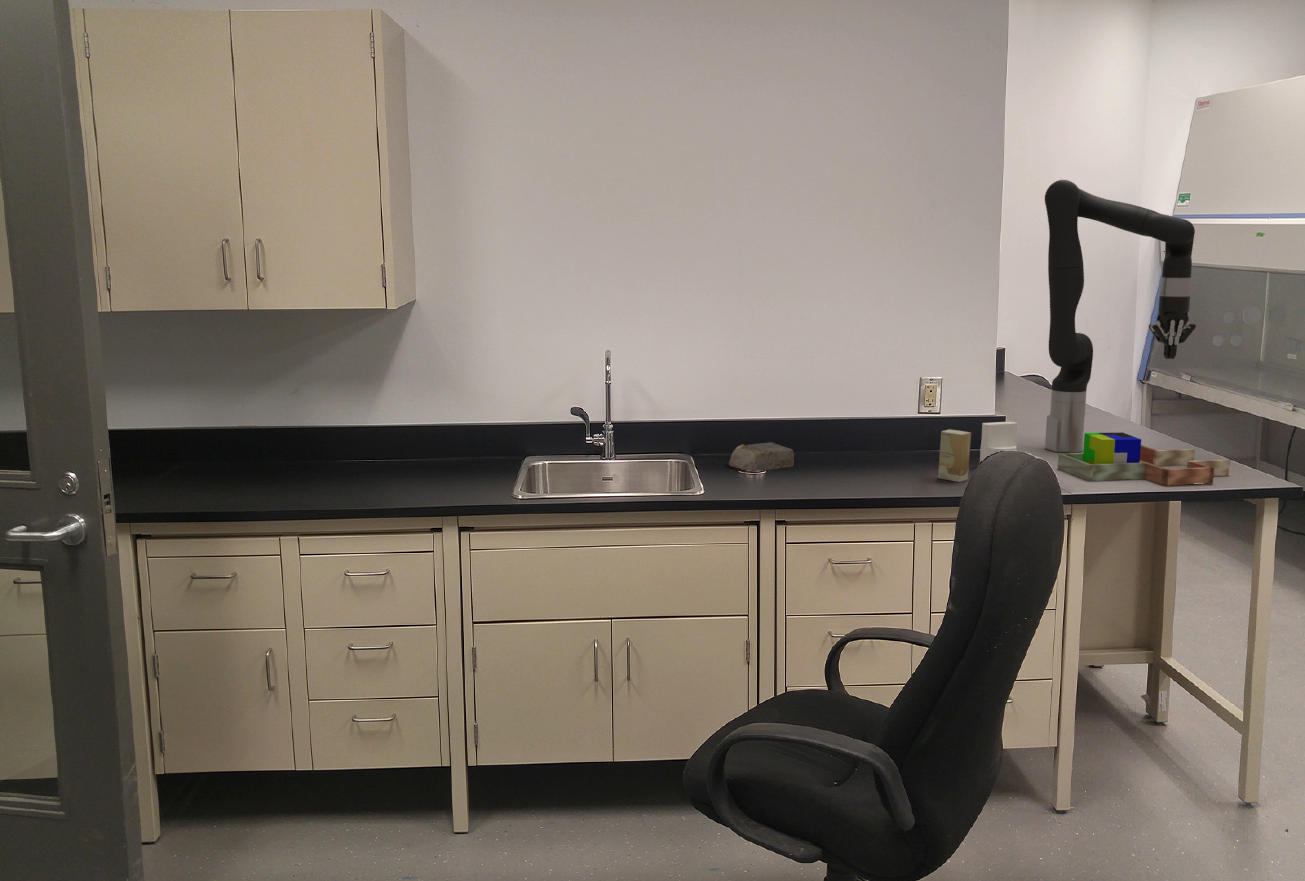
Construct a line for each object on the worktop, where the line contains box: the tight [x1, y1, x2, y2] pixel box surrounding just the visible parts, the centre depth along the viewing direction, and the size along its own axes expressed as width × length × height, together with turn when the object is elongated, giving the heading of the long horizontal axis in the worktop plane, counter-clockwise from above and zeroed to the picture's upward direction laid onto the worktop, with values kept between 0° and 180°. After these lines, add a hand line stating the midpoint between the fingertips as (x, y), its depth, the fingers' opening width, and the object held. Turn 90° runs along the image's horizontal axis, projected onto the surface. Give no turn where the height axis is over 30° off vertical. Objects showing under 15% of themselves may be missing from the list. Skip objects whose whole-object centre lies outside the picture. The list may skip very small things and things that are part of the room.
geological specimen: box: [728, 441, 795, 472], centre depth 287 cm, size 11×6×15 cm
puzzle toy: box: [1082, 431, 1142, 464], centre depth 273 cm, size 10×10×10 cm
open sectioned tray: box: [1057, 444, 1231, 487], centre depth 276 cm, size 38×31×4 cm
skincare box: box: [937, 429, 972, 483], centre depth 268 cm, size 6×4×12 cm
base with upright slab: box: [979, 421, 1018, 463], centre depth 281 cm, size 9×9×12 cm
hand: (1169, 358), depth 292 cm, fingers closed
